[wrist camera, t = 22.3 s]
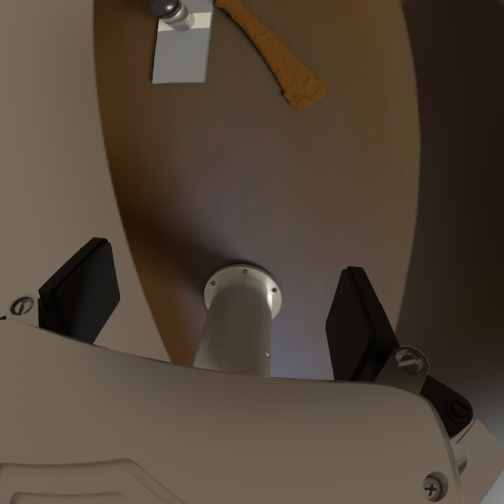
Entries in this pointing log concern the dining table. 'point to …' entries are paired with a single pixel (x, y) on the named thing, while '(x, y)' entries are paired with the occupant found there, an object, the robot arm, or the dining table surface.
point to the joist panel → (184, 47)
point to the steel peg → (172, 13)
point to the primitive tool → (278, 57)
